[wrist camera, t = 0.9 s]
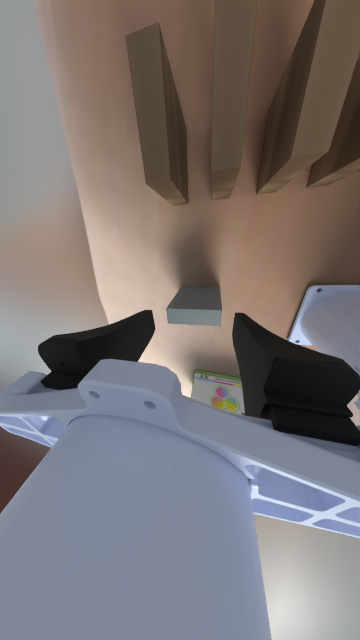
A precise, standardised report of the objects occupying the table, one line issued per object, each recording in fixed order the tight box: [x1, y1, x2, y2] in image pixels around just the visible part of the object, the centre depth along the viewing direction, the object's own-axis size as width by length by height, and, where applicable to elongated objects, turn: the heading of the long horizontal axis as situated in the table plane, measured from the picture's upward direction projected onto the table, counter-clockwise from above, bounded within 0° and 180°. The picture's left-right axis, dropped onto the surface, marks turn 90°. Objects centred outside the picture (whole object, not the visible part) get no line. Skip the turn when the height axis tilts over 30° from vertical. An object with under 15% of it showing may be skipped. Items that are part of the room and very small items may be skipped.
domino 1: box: [126, 22, 188, 206], centre depth 10 cm, size 2×5×7 cm, turn 4°
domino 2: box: [166, 287, 222, 326], centre depth 16 cm, size 2×5×7 cm, turn 94°
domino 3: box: [211, 0, 257, 200], centre depth 10 cm, size 2×5×7 cm, turn 4°
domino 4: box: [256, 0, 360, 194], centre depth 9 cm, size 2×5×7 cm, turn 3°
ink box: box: [191, 370, 245, 416], centre depth 21 cm, size 10×5×14 cm, turn 89°
